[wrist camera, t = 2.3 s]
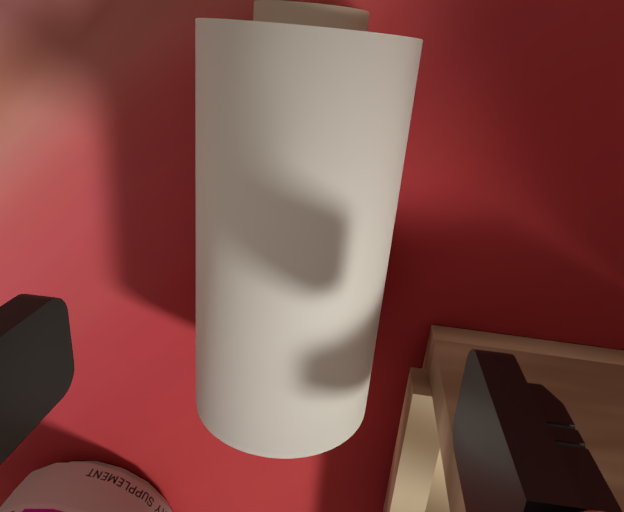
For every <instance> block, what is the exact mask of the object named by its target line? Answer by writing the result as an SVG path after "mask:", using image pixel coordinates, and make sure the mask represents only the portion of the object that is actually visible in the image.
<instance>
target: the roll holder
mask: <svg viewBox="0 0 624 512" xmlns="http://www.w3.org/2000/svg"><path fill="white" fill-rule="evenodd" d="M471 349H477V350H485V351H494V352H502V353H510V354H513V355H514V356H515V358H516V360H517V362H518V364H519V366H520V368H521V370H522V372H523V374H524V376H525V379H526V381H527V383H534V384H542V385H543V386H544V387H545V388H546V389H547V390H549V391H550V392H551V393H552V394H553V395H554V396H555V397H556V398H557V399H559V400H560V401H561V402H562V403H563V404H564V406H565V408H566V409H567V411H568V413H569V415H570V417H571V419H572V420H573V422H574V424H575V430H578V431H579V433H580V435H581V437H582V439H583V440H584V442H585V448H586V449H588V450H589V451H590V453H591V455H592V457H593V459H594V460H595V462H596V464H597V466H598V468H599V470H600V471H601V473H602V475H603V477H604V479H605V481H606V482H607V484H608V486H609V488H610V490H611V491H612V493H613V495H614V497H615V499H616V501H617V502H618V504H619V506H620V508H621V510H622V512H624V351H623V350H616V349H609V348H601V347H594V346H586V345H579V344H571V343H564V342H557V341H549V340H542V339H534V338H527V337H519V336H512V335H505V334H497V333H490V332H482V331H475V330H467V329H460V328H453V327H445V326H438V325H431V328H430V333H429V338H428V343H427V348H426V353H425V358H424V363H423V368H415V367H410V371H409V376H408V382H407V387H406V392H405V397H404V403H403V408H402V413H401V418H400V424H399V429H398V434H397V439H396V445H395V450H394V455H393V460H392V466H391V471H390V476H389V481H388V487H387V492H386V497H385V502H384V508H383V512H466V509H465V504H464V499H463V494H462V489H461V484H460V479H459V474H458V470H457V465H456V460H455V455H454V449H453V422H454V416H455V411H456V406H457V401H458V397H459V392H460V387H461V383H462V378H463V373H464V369H465V364H466V360H467V356H468V353H469V351H470V350H471Z"/></svg>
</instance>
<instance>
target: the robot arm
mask: <svg viewBox="0 0 624 512" xmlns="http://www.w3.org/2000/svg"><path fill="white" fill-rule="evenodd" d="M73 374H74V359H73V351H72V342H71V334H70V325H69V317H68V310H67V306H66V304H65V302H64V301H63V300H62V299H60V298H55V297H46V296H38V295H30V294H20V295H18V296H16V297H14V298H13V299H11V300H10V301H8V302H7V303H5V304H4V305H2V306H1V307H0V465H1V464H2V462H3V461H4V460H5V459H6V458H7V457H8V456H9V455H10V454H11V453H12V452H13V451H14V450H15V448H16V447H17V446H18V445H19V444H20V443H21V442H22V441H23V440H24V439H25V438H26V437H27V436H28V434H29V433H30V432H31V431H32V430H33V429H34V428H35V427H36V426H37V425H38V424H39V423H40V422H41V420H42V419H43V418H44V417H45V416H46V415H47V414H48V413H49V412H50V411H51V410H52V409H53V408H54V406H55V405H56V404H57V403H58V402H59V401H60V400H61V399H62V398H63V397H64V395H65V394H66V393H67V391H68V389H69V387H70V385H71V382H72V379H73ZM453 449H454V455H455V460H456V465H457V470H458V474H459V479H460V484H461V489H462V494H463V499H464V504H465V509H466V512H622V510H621V508H620V506H619V504H618V502H617V501H616V499H615V497H614V495H613V493H612V491H611V490H610V488H609V486H608V484H607V482H606V481H605V479H604V477H603V475H602V473H601V471H600V470H599V468H598V466H597V464H596V462H595V460H594V459H593V457H592V455H591V453H590V451H589V450H588V449H586V448H585V442H584V440H583V439H582V437H581V435H580V433H579V431H578V430H575V424H574V422H573V420H572V419H571V417H570V415H569V413H568V411H567V409H566V408H565V406H564V404H563V403H562V402H561V401H560V400H559V399H557V398H556V397H555V396H554V395H553V394H552V393H551V392H550V391H549V390H547V389H546V388H545V387H544V386H543V385H542V384H534V383H527V381H526V379H525V376H524V374H523V372H522V370H521V368H520V366H519V364H518V362H517V360H516V358H515V356H514V355H513V354H510V353H502V352H494V351H485V350H477V349H471V350H470V351H469V353H468V356H467V360H466V364H465V369H464V373H463V378H462V383H461V387H460V392H459V397H458V401H457V406H456V411H455V416H454V422H453Z"/></svg>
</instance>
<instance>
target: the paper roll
mask: <svg viewBox="0 0 624 512" xmlns="http://www.w3.org/2000/svg"><path fill="white" fill-rule="evenodd" d="M369 13H370V12H368V11H365V10H361V9H356V8H350V7H344V6H336V5H328V4H319V3H309V2H297V1H282V0H256V1H254V7H253V21H249V20H235V19H219V18H195V180H196V408H197V411H198V415H199V417H200V419H201V421H202V422H203V424H204V425H205V426H206V428H207V429H208V430H209V431H210V432H211V433H212V434H213V435H214V436H215V437H217V438H218V439H220V440H221V441H222V442H224V443H226V444H227V445H229V446H231V447H233V448H235V449H238V450H240V451H243V452H246V453H249V454H253V455H257V456H262V457H268V458H280V459H287V458H301V457H308V456H312V455H317V454H320V453H323V452H326V451H329V450H331V449H333V448H335V447H337V446H339V445H341V444H342V443H343V442H345V441H346V440H348V439H349V438H350V437H351V436H352V435H353V434H354V433H355V432H356V431H357V429H358V428H359V427H360V425H361V423H362V421H363V418H364V414H365V409H366V403H367V396H368V390H369V384H370V377H371V371H372V364H373V358H374V351H375V345H376V339H377V332H378V326H379V319H380V313H381V307H382V300H383V294H384V287H385V281H386V275H387V268H388V262H389V255H390V249H391V243H392V236H393V230H394V223H395V217H396V211H397V204H398V198H399V191H400V185H401V179H402V172H403V166H404V159H405V153H406V147H407V140H408V134H409V127H410V121H411V114H412V108H413V102H414V95H415V89H416V82H417V76H418V70H419V63H420V57H421V50H422V44H423V39H419V38H413V37H407V36H399V35H391V34H383V33H375V32H367V31H368V22H369Z"/></svg>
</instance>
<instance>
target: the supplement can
mask: <svg viewBox="0 0 624 512" xmlns="http://www.w3.org/2000/svg"><path fill="white" fill-rule="evenodd" d="M0 512H172V510H171V508H170V506H169V504H168V502H167V500H166V499H165V498H164V497H163V496H162V495H161V494H160V493H159V492H158V491H157V490H156V489H155V488H154V487H153V486H151V485H150V484H149V483H148V482H147V481H145V480H144V479H142V478H140V477H138V476H137V475H135V474H133V473H131V472H129V471H128V470H126V469H124V468H121V467H117V466H114V465H110V464H106V463H102V462H99V461H71V462H68V463H54V464H51V465H49V466H46V467H43V468H40V469H38V470H35V471H32V472H31V473H30V474H29V475H28V476H27V477H26V478H25V479H24V480H23V481H22V482H21V483H20V484H19V485H18V487H17V488H16V489H15V490H14V491H13V492H12V493H11V495H10V496H9V497H8V498H7V499H6V501H5V502H4V503H3V504H2V506H1V507H0Z"/></svg>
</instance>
